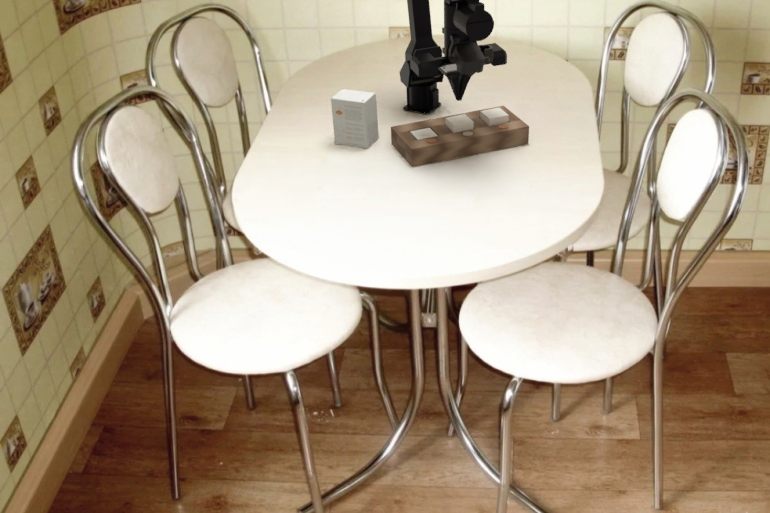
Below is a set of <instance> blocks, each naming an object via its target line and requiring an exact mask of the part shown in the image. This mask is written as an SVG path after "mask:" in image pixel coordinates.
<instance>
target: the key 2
mask: <svg viewBox="0 0 770 513" xmlns="http://www.w3.org/2000/svg"><path fill="white" fill-rule="evenodd" d="M480 119H481V120H482V121H483V122H484V123H486V124H487V125H488V126H493V125H498V124H503V123H508V122H509V115H508V114H507V113H506V112H504V111H503V110H502V109H501V108H494V109H489V110H484V111H481V113H480Z"/></svg>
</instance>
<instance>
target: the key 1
mask: <svg viewBox="0 0 770 513" xmlns="http://www.w3.org/2000/svg"><path fill="white" fill-rule="evenodd" d="M410 134H411V135H412V136H413V137H414V138H415V139H416V140H421V139H426V138H431V137H436V136H438V135H437V134H436V133H434V132H433V131H432V130H431V129H430V128H425V129H420V130H415V131H410Z"/></svg>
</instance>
